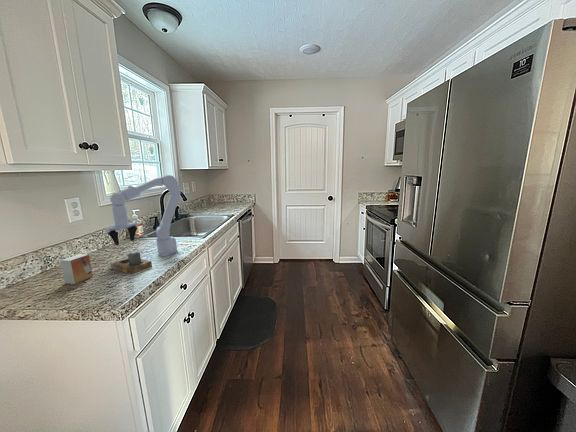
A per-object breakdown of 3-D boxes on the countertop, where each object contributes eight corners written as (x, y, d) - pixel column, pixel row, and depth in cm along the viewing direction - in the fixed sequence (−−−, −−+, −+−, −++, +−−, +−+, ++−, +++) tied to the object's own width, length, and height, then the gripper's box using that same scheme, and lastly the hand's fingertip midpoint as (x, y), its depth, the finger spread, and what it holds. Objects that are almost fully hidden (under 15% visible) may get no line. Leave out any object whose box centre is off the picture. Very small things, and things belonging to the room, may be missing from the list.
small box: (74, 284, 101) (69, 260, 99) (64, 283, 102) (59, 260, 100) (93, 276, 109) (89, 254, 107) (83, 275, 110) (79, 253, 108)
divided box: (132, 262, 125) (131, 256, 124) (152, 267, 117) (151, 261, 117) (110, 269, 116) (109, 263, 115) (130, 275, 109) (129, 269, 108)
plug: (137, 266, 117) (135, 250, 116) (142, 267, 116) (139, 251, 114) (130, 269, 114) (127, 252, 113) (134, 270, 113) (132, 253, 111)
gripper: (130, 213, 131) (134, 238, 133) (100, 219, 118) (105, 245, 121) (138, 214, 128) (142, 239, 130) (108, 220, 115) (112, 247, 118)
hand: (124, 242), depth 125 cm, fingers open, 7 cm apart
